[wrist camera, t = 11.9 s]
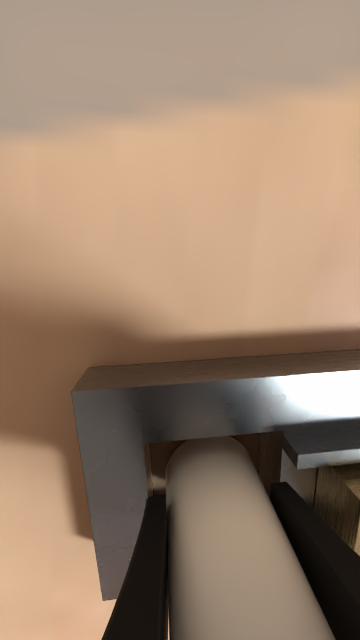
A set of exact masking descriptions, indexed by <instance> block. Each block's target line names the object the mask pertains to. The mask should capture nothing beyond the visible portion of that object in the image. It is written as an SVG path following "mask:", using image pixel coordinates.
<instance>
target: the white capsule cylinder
mask: <svg viewBox="0 0 360 640" xmlns="http://www.w3.org/2000/svg"><path fill="white" fill-rule="evenodd" d="M165 477H166V508H167V538H168V595H169V634H170V640H335V637H334V635H333V633H332V631H331V629H330V627H329V625H328V622H327V620H326V618H325V616H324V614H323V612H322V610H321V607H320V605H319V603H318V601H317V599H316V597H315V595H314V592H313V590H312V588H311V586H310V584H309V582H308V580H307V578H306V575H305V573H304V571H303V569H302V567H301V565H300V563H299V560H298V558H297V556H296V554H295V552H294V550H293V548H292V545H291V543H290V541H289V539H288V537H287V535H286V533H285V531H284V528H283V526H282V524H281V522H280V520H279V518H278V516H277V513H276V511H275V509H274V507H273V505H272V503H271V501H270V498H269V496H268V494H267V492H266V490H265V488H264V486H263V483H262V481H261V479H260V477H259V475H258V473H257V471H256V469H255V466H254V464H253V462H252V460H251V458H250V456H249V454H248V451H247V450H246V449H245V447H244V446H243V445H242V444H241V443H240V442H238V441H237V440H235V439H233V438H231V437H229V436H219V437H208V438H197V439H190V440H188V441H186V442H185V443H183V444H182V445H180V446H179V447H178V448H177V449H176V450H175V451H174V452H173V454H172V455H171V457H170V458H169V460H168V463H167V466H166V473H165Z"/></svg>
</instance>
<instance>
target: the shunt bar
mask: <svg viewBox="0 0 360 640" xmlns="http://www.w3.org/2000/svg"><path fill="white" fill-rule="evenodd" d="M314 511H315V512H316V513H317V514H318V515H319V516H320V517H321V518H322V519H323V520H324V521H325V522H326V523H327V524H328V525H329V526H330V527H331V528H332V529H333V530H334V531H335V532H336V533H337V534H338V535H339V536H340V537H341V538H342V539H343V540H344V541H345V542H346V543H347V544H348V545H349V546H350V547H351V548H352V549H353V550H354V551H355V552H356V553H357V554H358V555H359V556H360V463H354V464H344V465H335V466H325V467H319V468H318V478H317V487H316V496H315V505H314Z"/></svg>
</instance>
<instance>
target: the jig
mask: <svg viewBox="0 0 360 640" xmlns="http://www.w3.org/2000/svg"><path fill="white" fill-rule="evenodd" d="M71 394H72V400H73V407H74V414H75V420H76V427H77V433H78V440H79V447H80V453H81V460H82V467H83V473H84V480H85V486H86V493H87V500H88V506H89V513H90V520H91V526H92V533H93V539H94V546H95V553H96V559H97V566H98V572H99V579H100V586H101V592H102V599H103V601H105V600H113V599H117V598H118V595H119V592H120V590H121V587H122V584H123V582H124V579H125V576H126V573H127V570H128V567H129V564H130V560H131V557H132V554H133V551H134V548H135V545H136V541H137V538H138V534H139V531H140V527H141V523H142V519H143V515H144V510H145V505H146V499H147V498H148V497H149V496H153V488H152V475H151V462H150V449H149V443H153V442H164V441H175V440H186V439H197V438H208V437H219V436H230V435H241V434H252V433H260V453H259V477H260V479H261V481H262V483H263V486H264V488H265V490H266V492H267V494H268V496H269V498H270V491H271V483H277V482H287V483H288V484H289V485H290V486H291V487H292V488H293V489H294V490H295V491H296V492H297V493H298V494H299V495H300V496H301V497H302V498H303V499H304V500H305V502H306V503H307V504H308V505H309V506H310V507H311V508H312V509H313V510H314V505H315V496H316V487H317V478H318V468H319V467H325V466H335V465H344V464H354V463H360V350H347V351H332V352H317V353H302V354H287V355H272V356H257V357H242V358H227V359H212V360H197V361H183V362H168V363H153V364H138V365H123V366H108V367H93V368H88V370H87V371H86V372H85V374H84V375H83V376H82V378H81V379H80V380H79V382H78V383H77V385H76V386H75V387H74V389H73V390H72V391H71Z"/></svg>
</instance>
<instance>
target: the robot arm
mask: <svg viewBox="0 0 360 640" xmlns="http://www.w3.org/2000/svg"><path fill="white" fill-rule="evenodd" d="M270 501H271V503H272V505H273V507H274V509H275V511H276V513H277V516H278V518H279V520H280V522H281V524H282V526H283V528H284V531H285V533H286V535H287V537H288V539H289V541H290V543H291V545H292V548H293V550H294V552H295V554H296V556H297V558H298V560H299V563H300V565H301V567H302V569H303V571H304V573H305V575H306V578H307V580H308V582H309V584H310V586H311V588H312V590H313V592H314V595H315V597H316V599H317V601H318V603H319V605H320V607H321V610H322V612H323V614H324V616H325V618H326V620H327V622H328V625H329V627H330V629H331V631H332V633H333V635H334V637H335V640H360V556H359V555H358V554H357V553H356V552H355V551H354V550H353V549H352V548H351V547H350V546H349V545H348V544H347V543H346V542H345V541H344V540H343V539H342V538H341V537H340V536H339V535H338V534H337V533H336V532H335V531H334V530H333V529H332V528H331V527H330V526H329V525H328V524H327V523H326V522H325V521H324V520H323V519H322V518H321V517H320V516H319V515H318V514H317V513H316V512H315V511H314V510H313V509H312V508H311V507H310V506H309V505H308V504H307V503H306V502H305V500H304V499H303V498H302V497H301V496H300V495H299V494H298V493H297V492H296V491H295V490H294V489H293V488H292V487H291V486H290V485H289V484H288V483H287V482H277V483H271V491H270ZM168 614H169V595H168V538H167V508H166V495H156V496H149V497H148V498H147V499H146V505H145V510H144V515H143V519H142V523H141V527H140V531H139V534H138V538H137V541H136V545H135V548H134V551H133V554H132V557H131V560H130V564H129V567H128V570H127V573H126V576H125V579H124V582H123V584H122V587H121V590H120V592H119V595H118V598H117V601H116V603H115V606H114V609H113V612H112V614H111V617H110V620H109V622H108V625H107V627H106V630H105V632H104V635H103V637H102V640H168Z"/></svg>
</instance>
